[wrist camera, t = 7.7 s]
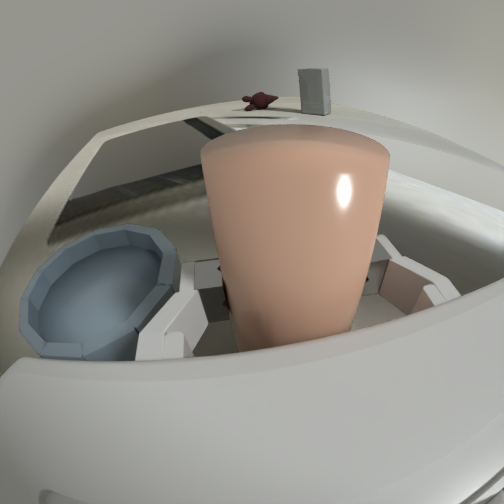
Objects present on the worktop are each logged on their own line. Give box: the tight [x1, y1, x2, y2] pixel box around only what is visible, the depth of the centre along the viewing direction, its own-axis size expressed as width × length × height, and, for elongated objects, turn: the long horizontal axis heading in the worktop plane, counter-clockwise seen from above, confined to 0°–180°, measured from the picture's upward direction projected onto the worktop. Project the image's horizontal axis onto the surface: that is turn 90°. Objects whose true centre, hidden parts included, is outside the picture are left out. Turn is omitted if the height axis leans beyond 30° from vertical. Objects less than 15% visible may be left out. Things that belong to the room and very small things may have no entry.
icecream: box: [242, 92, 278, 111], centre depth 87 cm, size 7×7×15 cm
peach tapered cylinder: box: [200, 124, 390, 352], centre depth 10 cm, size 5×5×11 cm
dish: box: [19, 223, 182, 361], centre depth 18 cm, size 14×14×2 cm
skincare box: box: [298, 68, 331, 115], centre depth 72 cm, size 8×7×16 cm
